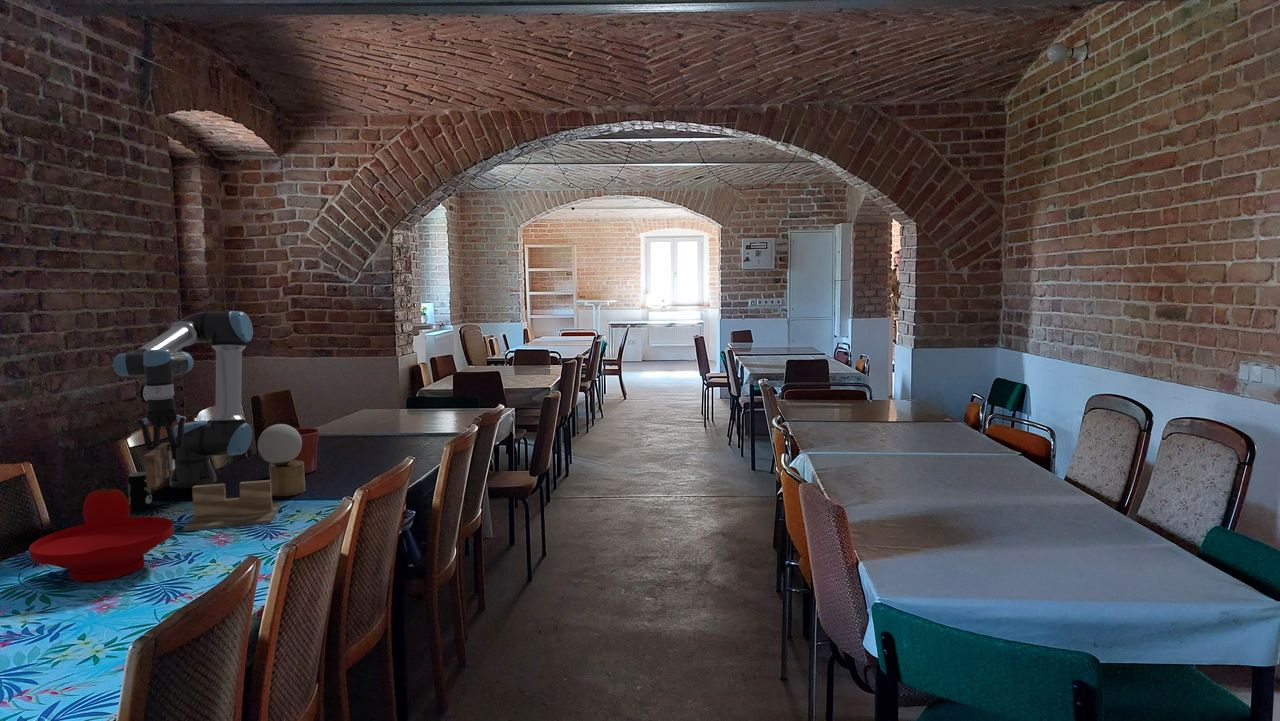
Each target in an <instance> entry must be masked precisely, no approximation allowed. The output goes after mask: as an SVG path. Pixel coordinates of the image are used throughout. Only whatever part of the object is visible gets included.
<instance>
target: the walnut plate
mask: <svg viewBox="0 0 1280 721" xmlns="http://www.w3.org/2000/svg"><path fill="white" fill-rule="evenodd" d="M170 449H171V447H170V443H169V442H162V443H160V444H159V446H157V447H156V448H154V449H153V450H149V451H148V452H147V453H146V454H144V466H145V467H144V468H145V469H144V470H145V472H146V480H147V488H158V487H159V486H160V485H161V484H162V483H164V479H168V478H170V477H171V474H172V473H173V470H172V471H170V464H169V452H168V451H169V450H170Z"/></svg>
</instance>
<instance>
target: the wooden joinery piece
mask: <svg viewBox="0 0 1280 721" xmlns="http://www.w3.org/2000/svg"><path fill="white" fill-rule="evenodd" d="M238 488H239V497H234V498H232V497H231V498H227V490H226V483H212V484H209V485H199V486H193V487H192V488H191V492H192V504H193V506H192V507H193V516H192V518H191V519H189V521H188V522H187V523H186V524H185V525H184V526H183V527H182V530H183V532H187V531H197V530H207V529H208V530H209V529H219V528H230V527H232V528H233V527H239V526H240V527H241V526H252V525H260V524H261V525H262V524H271V523H272V521H273V520H274V518H275V516H276V515H277V513H278V511H279V509H280V507H281V502H275V503H273V496H272V488H271V480H270V479H265V480H251V481H240V483H239V486H238Z"/></svg>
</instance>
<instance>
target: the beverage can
mask: <svg viewBox="0 0 1280 721" xmlns="http://www.w3.org/2000/svg"><path fill="white" fill-rule="evenodd" d="M126 480H127V493H128V494H127V495H128V501H129V505H130V511H132V512H142V511H143V512H144V511H147V510H149V509H152V507H153V505H154V500H153V489H152V488H153V487H152V488H147V480H146V471H136V472H132V473H129V474H128V477H127V479H126Z"/></svg>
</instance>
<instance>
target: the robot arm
mask: <svg viewBox="0 0 1280 721" xmlns="http://www.w3.org/2000/svg"><path fill="white" fill-rule="evenodd" d="M253 336H254V328H253V324H252V321H251V318H250V317H249V315H248V314H247V313H245V312H244V311H239V310H238V311H236V310H224V311H223V310H217V311H215V310H214V311H200V312H195V313H192V314H190V315H187V316H185V317H183V318H181V319H179V320H177V321H175V322H174V323H173V324H172V325H170V327H169V329H168V330H167V331H165V332H163V333H162V334H160V335H159V336H157V337H155V338H154V339H152V340H151V341H149V342H148V343H146V344H144V345H143V346H141V347H139V348H138V349H136V350H135V351H133V352H129V353H128V352H125V353H119V354H117V355H115V356H114V359H113V362H112V367H113V371H114V373H115V374H116V375H118V376H121V377H128V378H129V377H144V379H145V390H146V391H145V393H146V398H147V400H146V406H147V407H146V408H147V414H146V417H144V418H141V419H139V420H138V421H137V423H138V424H139V426H140V428H141V431H142V432H141V433H142V436H143V440H144V446H145V449H146V450H147V451H151V450H153V449H154V448H156V447H157V446H159V445H160V444H161V443H160V442H161V429H162V427H163V428H164V429H165V430H166V433H167V438H168V443H170V447H171V449H170V450H169V451H168V452H169V464H170V471H172V470H173V473H172V474H171V475H170V477H169V487H170V488H172V489H192V487H193V486H199V485H212V484H215V483H216V482H217V474H216V471H215V470H214V468H213V465H212V464H211V460H210V456H211V457H212V456H213V457H217V456H220V457H221V456H239V455H241V456H242V455H243V454H245V453H246V452H247V451H248V450H249V448H250V446H251V443H252V440H253V430H252V426H251V424H249V423H248V422H246V421H247V420H246V417H244V416H243V415H242V390H243V388H242V386H243V385H242V384H243V382H242V381H243V380H242V375H243V374H242V373H243V372H242V371H243V370H242V367H243V362H242V360H243V351H244V350H245V349H246V348H247V343H249V342H251V341H252V339H253ZM198 343H211V348H212V349H213V350H214V351H215V415H214V416H213V417H212V418H211V419H210V424H209V423H208V421H207V420H205V419H204V420H203V419H202V420H195V421H191V422H186V421H187V416H185V415H183V416H182V415H179V414H178V412H177V411H176V410H177V409H176V400H175V399H176V398H174V396H175V387H174V377H175V376H176V377H177V376H182V375H184V374H186V373H189V372H191V370H192V369H193V368H194V367H193V366H194V363H195V362H194V359H193V357H192V355H191V354H190V353H189V352H186V351H179V350H181V349H182V348H184V347H189V346H192V345H193V344H198ZM175 421H176V423H177V425H175V426H173V423H174V422H175ZM149 423H150V424H152V426H153V428H152V429H153V435H152V436H153V437H152V436H151V432H150V428H149V425H148V424H149ZM152 440H153V441H152Z"/></svg>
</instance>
